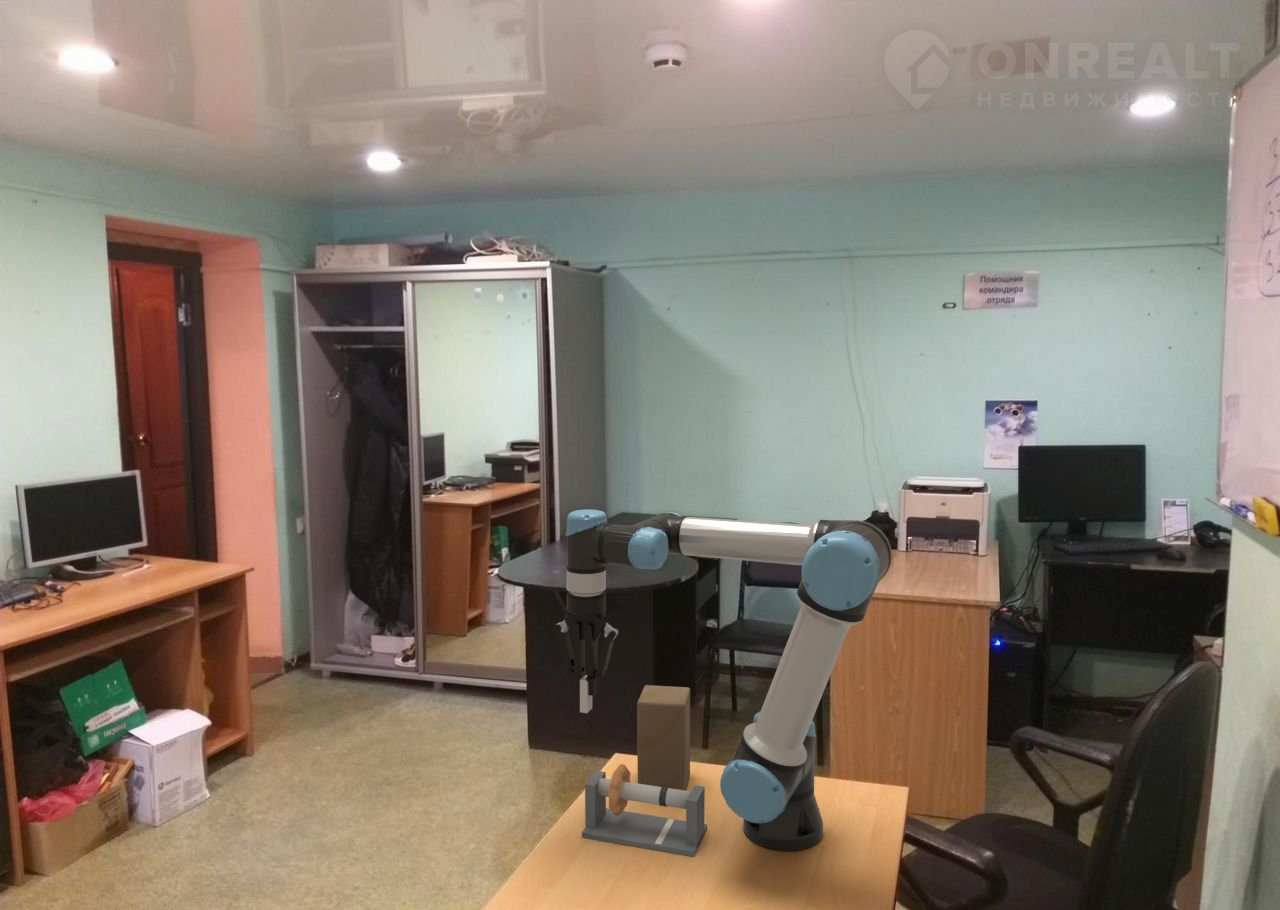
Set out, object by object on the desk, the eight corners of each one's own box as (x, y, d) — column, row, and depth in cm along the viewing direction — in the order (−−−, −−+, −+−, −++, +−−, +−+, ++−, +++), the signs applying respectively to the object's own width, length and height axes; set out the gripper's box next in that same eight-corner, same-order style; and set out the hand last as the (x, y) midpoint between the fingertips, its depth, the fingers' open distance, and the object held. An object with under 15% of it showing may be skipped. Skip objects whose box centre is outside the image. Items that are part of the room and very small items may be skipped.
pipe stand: (706, 829, 173) (707, 781, 172) (693, 856, 164) (693, 806, 162) (600, 811, 180) (599, 765, 179) (581, 837, 170) (581, 788, 169)
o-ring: (631, 801, 177) (631, 758, 176) (616, 823, 168) (616, 778, 167) (623, 800, 177) (622, 757, 176) (607, 822, 169) (607, 777, 168)
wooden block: (637, 793, 187) (636, 701, 185) (644, 772, 197) (644, 684, 195) (684, 797, 186) (684, 704, 183) (690, 775, 195) (690, 686, 193)
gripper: (625, 589, 172) (624, 707, 175) (562, 583, 176) (563, 698, 179) (611, 599, 165) (610, 722, 168) (546, 593, 169) (547, 712, 172)
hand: (586, 710), depth 173 cm, fingers closed
